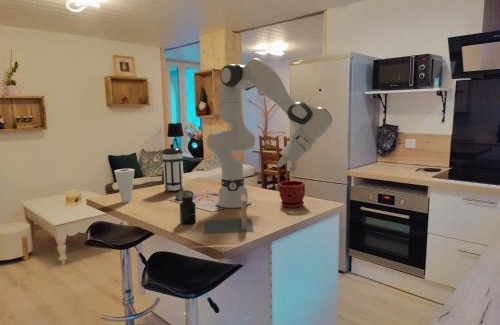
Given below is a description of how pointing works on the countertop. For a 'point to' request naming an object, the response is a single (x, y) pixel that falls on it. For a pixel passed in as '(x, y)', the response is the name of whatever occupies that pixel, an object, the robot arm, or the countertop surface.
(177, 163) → the coffee press
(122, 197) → the cup
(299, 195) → the plant pot
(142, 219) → the countertop surface
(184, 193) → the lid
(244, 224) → the tile
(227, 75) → the robot arm
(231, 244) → the countertop surface
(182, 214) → the supplement bottle
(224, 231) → the mat
